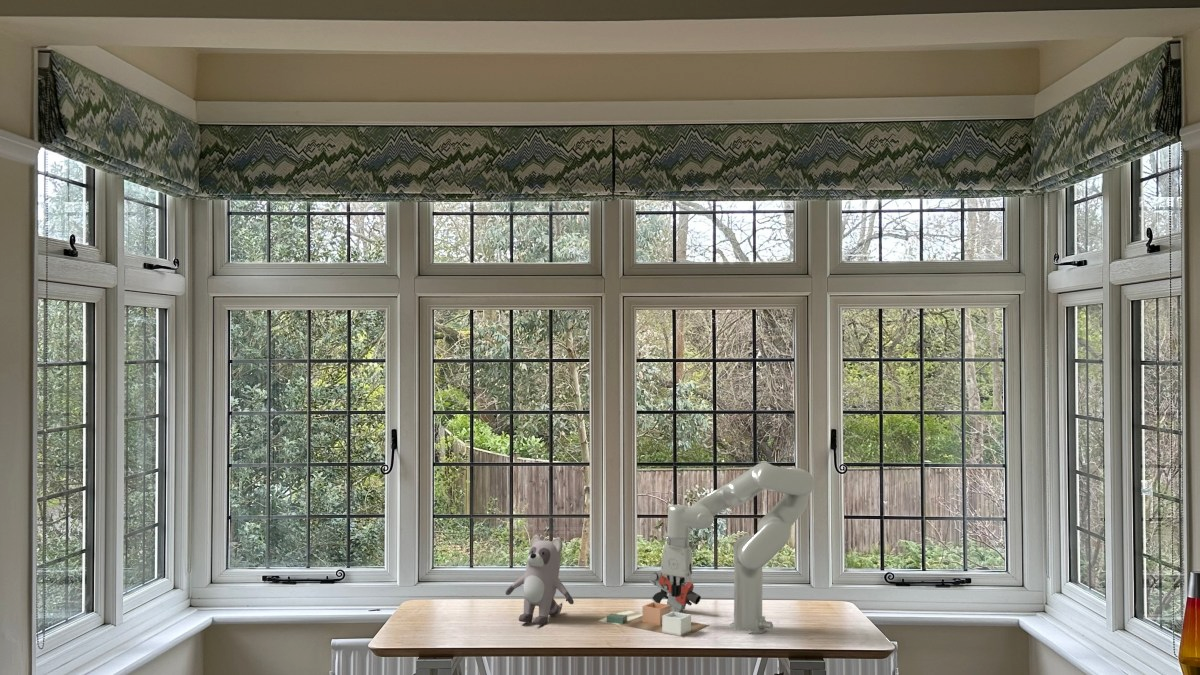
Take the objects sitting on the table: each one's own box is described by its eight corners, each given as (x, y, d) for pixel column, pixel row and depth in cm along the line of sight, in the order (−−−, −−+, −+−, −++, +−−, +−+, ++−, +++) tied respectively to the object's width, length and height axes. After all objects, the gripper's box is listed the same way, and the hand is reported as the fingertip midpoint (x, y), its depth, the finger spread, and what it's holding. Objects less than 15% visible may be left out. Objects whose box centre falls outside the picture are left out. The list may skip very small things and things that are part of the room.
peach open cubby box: (670, 621, 328) (670, 605, 329) (659, 625, 323) (660, 609, 323) (652, 617, 332) (652, 602, 333) (642, 622, 327) (642, 606, 327)
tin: (627, 621, 328) (627, 615, 328) (622, 623, 324) (622, 618, 324) (611, 619, 330) (611, 613, 330) (606, 621, 326) (606, 616, 327)
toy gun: (686, 627, 336) (698, 589, 334) (642, 600, 348) (653, 563, 346) (692, 625, 339) (704, 587, 337) (648, 598, 351) (659, 561, 349)
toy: (514, 632, 317) (514, 545, 317) (504, 615, 338) (504, 534, 338) (574, 627, 323) (574, 542, 323) (560, 611, 343) (560, 530, 343)
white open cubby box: (691, 631, 316) (691, 614, 316) (680, 636, 310) (680, 619, 310) (672, 627, 320) (672, 611, 320) (662, 632, 314) (662, 615, 314)
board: (709, 628, 324) (709, 625, 324) (683, 641, 309) (683, 637, 309) (625, 613, 343) (625, 609, 343) (597, 624, 328) (597, 620, 328)
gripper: (653, 540, 325) (651, 594, 324) (692, 546, 316) (690, 601, 316) (664, 537, 331) (662, 590, 330) (702, 543, 323) (700, 597, 322)
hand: (676, 595), depth 323 cm, fingers closed
